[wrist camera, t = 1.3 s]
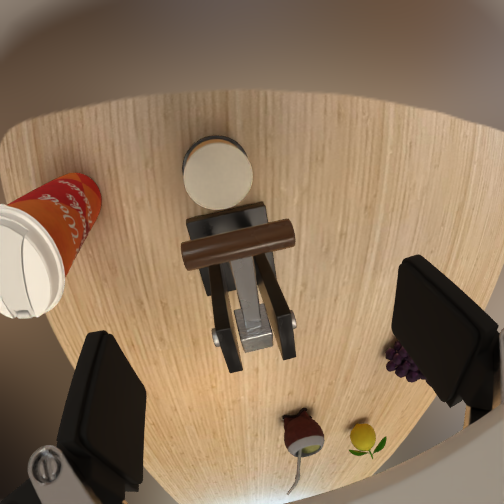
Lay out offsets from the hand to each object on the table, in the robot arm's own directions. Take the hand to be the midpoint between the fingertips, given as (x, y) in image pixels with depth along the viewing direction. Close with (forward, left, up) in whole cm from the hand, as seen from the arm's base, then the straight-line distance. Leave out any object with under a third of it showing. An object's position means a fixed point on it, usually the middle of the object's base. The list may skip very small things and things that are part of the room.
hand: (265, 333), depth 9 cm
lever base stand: (+9, 0, -23) cm, 24 cm away
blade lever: (+4, 0, -9) cm, 10 cm away
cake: (0, 0, -23) cm, 23 cm away
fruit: (+34, +27, -23) cm, 49 cm away
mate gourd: (+46, +4, -23) cm, 52 cm away
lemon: (+58, +18, -23) cm, 65 cm away
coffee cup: (-1, -15, -23) cm, 27 cm away
